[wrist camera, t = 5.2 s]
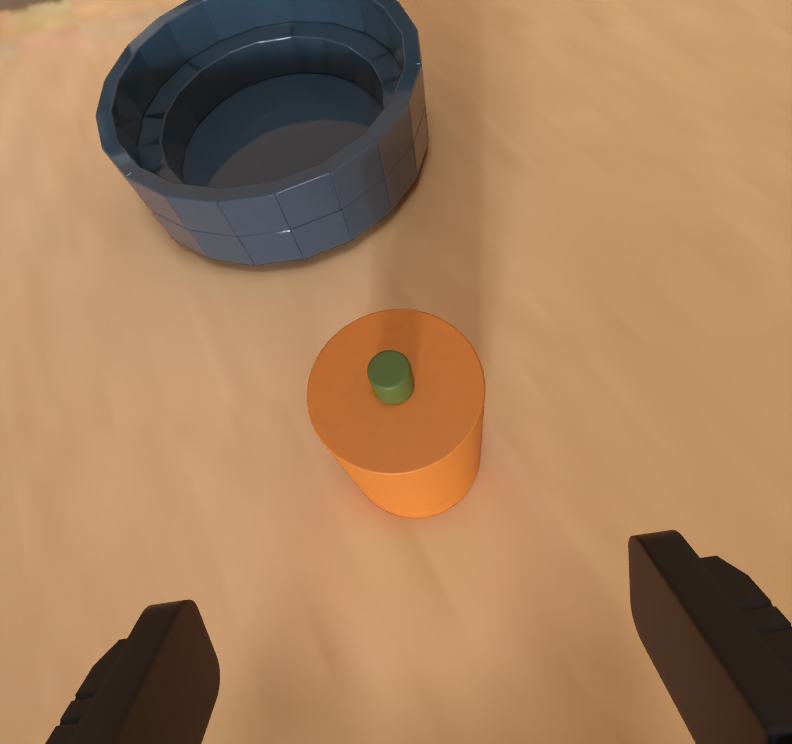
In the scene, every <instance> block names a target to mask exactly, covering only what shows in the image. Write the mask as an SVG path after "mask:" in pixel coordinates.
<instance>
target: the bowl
mask: <svg viewBox="0 0 792 744" xmlns="http://www.w3.org/2000/svg"><path fill="white" fill-rule="evenodd" d="M96 120H97V125H98V130H99V135H100V140H101V146H102V149H103V151H104V152H105V153H106V155H107V156H108V157H109V159H110V160H111V161H112V162H113V164H114V165H115V166H116V168H117V169H118V170H119V171H120V173H121V174H122V175H123V176H124V178H125V179H126V180H127V182H128V183H129V184H130V185H131V187H132V188H133V189H134V190H135V192H136V193H137V194H138V196H139V197H140V198H141V199H142V201H143V202H144V203H145V204H146V206H147V207H148V208H149V210H150V211H151V212H152V213H153V215H154V216H155V217H156V218H157V220H158V221H159V222H160V223H161V224H162V226H163V227H164V228H165V229H166V231H167V232H168V233H169V234H170V236H171V237H172V238H173V239H174V240H175V241H177V242H179V243H181V244H183V245H184V246H186V247H188V248H190V249H192V250H194V251H196V252H198V253H200V254H202V255H204V256H206V257H207V258H210V259H215V260H222V261H229V262H235V263H242V264H248V265H262V264H270V263H278V262H286V261H294V260H302V259H306V258H309V257H311V256H314V255H316V254H319V253H322V252H324V251H327V250H329V249H332V248H334V247H337V246H339V245H342V244H344V243H347V242H349V241H351V240H353V239H355V238H356V237H357V236H359V235H360V234H361V233H363V232H364V231H365V230H367V229H368V228H370V227H371V226H372V225H374V224H375V223H376V222H378V221H379V220H380V219H382V218H383V217H385V216H386V215H387V214H389V213H390V211H392V210H393V209H394V207H395V206H396V205H397V203H398V202H399V201H400V199H401V198H402V197H403V195H404V194H405V193H406V191H407V190H408V189H409V187H410V186H411V185H412V184H413V182H414V181H415V180H416V178H417V176H418V173H419V169H420V166H421V163H422V160H423V157H424V153H425V150H426V147H427V144H428V130H427V118H426V106H425V94H424V82H423V70H422V60H421V52H420V43H419V35H418V31H417V28H416V27H415V25H414V24H413V22H412V21H411V19H410V18H409V16H408V15H407V13H406V12H405V11H404V9H403V8H402V6H401V5H400V3H399V2H397V1H396V0H187V1H186V2H184V3H182V4H181V5H179V6H177V7H175V8H174V9H172V10H170V11H169V12H167V13H165V14H164V15H162V16H160V17H159V18H157V19H156V20H155V21H154V22H153V23H152V24H150V25H149V26H148V27H147V28H146V29H145V30H144V31H143V32H142V33H141V34H139V35H138V36H137V37H136V38H135V39H134V40H133V41H132V42H131V43H129V44H128V45H127V47H126V48H125V50H124V51H123V53H122V54H121V56H120V57H119V59H118V60H117V62H116V63H115V65H114V66H113V68H112V69H111V71H110V72H109V74H108V75H107V77H106V78H105V81H104V84H103V88H102V92H101V96H100V100H99V103H98V107H97V111H96Z"/></svg>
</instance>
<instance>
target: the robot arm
mask: <svg viewBox="0 0 792 744" xmlns="http://www.w3.org/2000/svg"><path fill="white" fill-rule="evenodd" d="M628 549H629V577H630V603H631V610H632V615H633V619H634V623H635V626H636V629H637V632H638V634H639V637H640V639H641V641H642V643H643V645H644V647H645V649H646V651H647V653H648V655H649V656H650V658H651V660H652V662H653V664H654V666H655V668H656V670H657V671H658V673H659V675H660V677H661V679H662V681H663V683H664V685H665V686H666V688H667V690H668V692H669V694H670V696H671V698H672V700H673V702H674V703H675V705H676V707H677V709H678V711H679V713H680V715H681V717H682V718H683V720H684V722H685V724H686V726H687V728H688V730H689V732H690V733H691V735H692V737H693V739H694V741H695V743H696V744H792V627H791V623H790V622H789V621H788V620H787V619H786V617H785V616H784V615H783V614H782V613H781V612H780V611H779V610H778V608H777V607H773V606H772V604H771V601H770V599H769V598H768V597H767V596H766V595H765V594H764V593H763V592H762V590H761V589H760V588H759V587H758V586H757V585H756V584H755V583H754V581H753V580H752V579H751V578H750V577H749V576H748V575H747V574H745V573H743V572H742V571H740V570H739V569H737V568H735V567H734V566H732V565H731V564H729V563H727V562H726V561H724V560H723V559H721V558H719V557H718V556H711V557H704V558H699V556H698V555H697V554H696V553H695V551H694V550H693V549H692V548H691V546H690V545H689V544H688V543H687V541H686V540H685V539H684V538H683V536H682V535H681V534H680V533H679V532H677V531H676V530H669V531H662V532H655V533H649V534H642V535H635V536H631V537H630V538H629V543H628ZM219 684H220V669H219V663H218V659H217V656H216V653H215V651H214V648H213V646H212V643H211V640H210V638H209V635H208V633H207V630H206V628H205V625H204V622H203V620H202V617H201V615H200V612H199V610H198V607H197V605H196V604H195V602H194V601H192V600H182V601H175V602H168V603H162V604H155V605H150V606H148V607H147V608H146V609H145V610H144V611H143V612H142V614H141V616H140V617H139V619H138V621H137V623H136V624H135V626H134V628H133V630H132V631H131V633H130V635H129V636H128V638H127V639H121V640H119V641H118V642H117V643H116V644H115V645H114V646H113V647H112V648H111V649H110V650H109V651H108V652H107V653H106V654H105V655H104V656H103V657H102V658H101V659H100V660H99V661H98V662H97V663H96V664H95V665H94V666H93V667H92V669H91V671H90V672H89V674H88V675H87V677H86V679H85V680H84V682H83V684H82V685H81V687H80V688H79V690H78V692H77V693H76V699H75V701H71V703H70V705H69V706H68V708H67V709H66V711H65V713H64V714H63V716H62V718H61V719H60V721H61V722H60V725H59V726H56V727H55V729H54V731H53V732H52V734H51V735H50V737H49V739H48V740H47V742H46V743H45V744H201V743H202V740H203V737H204V734H205V731H206V728H207V725H208V722H209V720H210V717H211V714H212V711H213V708H214V705H215V702H216V699H217V696H218V691H219Z"/></svg>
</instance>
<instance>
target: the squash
mask: <svg viewBox="0 0 792 744" xmlns="http://www.w3.org/2000/svg"><path fill="white" fill-rule="evenodd" d="M484 399H485V380H484V373H483V369H482V366H481V362H480V360H479V358H478V356H477V353H476V351H475V350H474V348H473V347H472V345H471V344H470V342H469V341H468V340H467V339H466V338H465V336H464V335H463V334H462V333H461V332H459V331H458V330H457V329H456V328H455V327H453V326H452V325H450V324H449V323H447V322H446V321H444V320H442V319H440V318H438V317H436V316H433V315H431V314H428V313H424V312H420V311H415V310H406V309H395V310H386V311H380V312H376V313H372V314H369V315H367V316H364V317H361V318H359V319H357V320H355V321H353V322H352V323H350V324H349V325H347V326H345V327H344V328H343V329H341V330H340V331H339V332H338V333H337V334H335V335H334V336H333V337H332V338H331V339H330V340H329V341H328V343H327V344H326V345H325V347H324V348H323V349H322V350H321V352H320V354H319V355H318V357H317V359H316V361H315V363H314V366H313V368H312V370H311V374H310V377H309V381H308V388H307V405H308V412H309V416H310V419H311V423H312V425H313V427H314V430H315V432H316V434H317V435H318V437H319V438H320V440H321V441H322V443H323V444H324V445H325V446H326V448H327V449H328V450H329V451H330V452H331V454H332V455H333V456H334V457H335V458H336V460H337V461H338V462H339V463H340V464H341V465H342V467H343V468H344V469H345V470H346V471H347V473H348V474H349V475H350V476H351V477H352V479H353V480H354V481H355V482H356V483H357V484H358V486H359V487H360V488H361V489H362V490H363V492H364V493H365V494H366V495H367V496H368V497H369V499H370V500H372V501H373V502H374V503H375V504H376V505H377V506H379V507H381V508H382V509H384V510H386V511H388V512H390V513H392V514H395V515H399V516H403V517H412V518H419V517H427V516H431V515H435V514H438V513H440V512H443V511H445V510H447V509H448V508H450V507H452V506H453V505H454V504H456V503H457V502H458V501H459V500H460V499H461V498H462V497H463V496H464V495H465V494H466V493H467V491H468V490H469V489H470V487H471V485H472V484H473V482H474V480H475V477H476V475H477V472H478V468H479V462H480V452H481V439H482V426H483V412H484Z"/></svg>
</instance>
